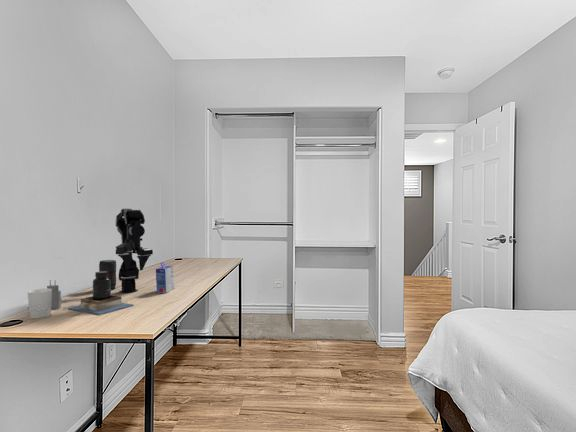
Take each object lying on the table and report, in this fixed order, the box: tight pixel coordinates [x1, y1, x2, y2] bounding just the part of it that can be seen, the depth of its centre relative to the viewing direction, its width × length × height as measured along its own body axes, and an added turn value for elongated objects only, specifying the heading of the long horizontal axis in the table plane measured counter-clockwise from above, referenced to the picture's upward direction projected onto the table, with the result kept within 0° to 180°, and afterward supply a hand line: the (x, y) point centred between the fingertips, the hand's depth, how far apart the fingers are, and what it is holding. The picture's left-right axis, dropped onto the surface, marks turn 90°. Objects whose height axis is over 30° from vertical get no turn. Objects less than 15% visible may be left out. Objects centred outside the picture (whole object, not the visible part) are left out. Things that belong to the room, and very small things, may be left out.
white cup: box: [27, 287, 52, 319], centre depth 144 cm, size 8×8×10 cm
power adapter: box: [46, 280, 62, 311], centre depth 156 cm, size 3×5×12 cm, turn 100°
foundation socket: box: [80, 294, 123, 311], centre depth 157 cm, size 11×11×4 cm
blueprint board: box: [67, 302, 135, 316], centre depth 157 cm, size 20×16×1 cm
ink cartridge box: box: [155, 261, 175, 294], centre depth 189 cm, size 10×6×14 cm, turn 174°
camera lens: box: [98, 259, 117, 291], centre depth 194 cm, size 8×8×15 cm
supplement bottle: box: [92, 271, 112, 301], centre depth 157 cm, size 7×7×12 cm
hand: (134, 269), depth 175 cm, fingers open, 9 cm apart
